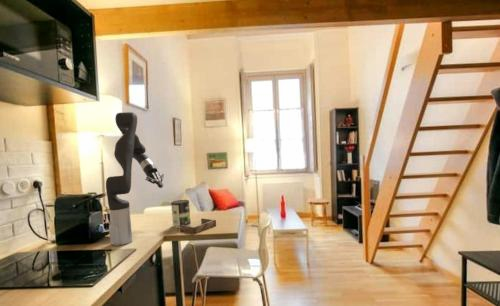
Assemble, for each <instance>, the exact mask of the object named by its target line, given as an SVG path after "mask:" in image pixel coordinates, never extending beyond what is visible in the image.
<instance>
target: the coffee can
mask: <svg viewBox="0 0 500 306" xmlns="http://www.w3.org/2000/svg"><path fill="white" fill-rule="evenodd" d="M170 205H171V206H170V207H171V215H172V227H173V228H175V229H178V228H179V229H181V225H185V226H191V225H192V223H191V213H190V212H191V210H190V200H189V199H179V200H174V201H171V202H170Z"/></svg>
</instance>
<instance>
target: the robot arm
mask: <svg viewBox="0 0 500 306" xmlns="http://www.w3.org/2000/svg"><path fill="white" fill-rule="evenodd" d="M115 123H116V126H117V128H118V130H119V131H120V133H121V134H122V136H121V137H120V138H119V139H118V140H117V141H116V142H115V145H114V153H113V154H114V155H113V156H114V158H115V160H116V162H117V163H118V164H119V165H120V168H121V169H122V171H123V174H122V175H115V176H109V177H107V178H106V180H105V191H106V196H107V197H106V198H107V205H108V211H109V222H110V224H109V225H108V230H109V231H108V232H109V241H110V242H109V243H110V245H112V246H115V247H118V246H123V245H127V244H130V243H132V242H133V232H132V220H131V219H132V218H131V210H130V209H131V208H130V202H129V201H128V200H125V199H122V198H120V197H118V195H119V196H121V195H127V194H129V193H130V191H131V189H132V169H133V168H132V165H133V159H135V160H136V162H137V163H138V164H139V166H140V168H141V169H142V171H143V173H144V174H145V175H146V177H145V181H147V182H149V183H150V184H153V185H156V186H157V187H158V188H159V189H162V188H163V187H164V184H163V180H164V176H165V174H164V173H160V172H159V171H158V168H157V167H156V165H155V164H154V163H153V161H152V160H151V159H150V157H149V156H148V155H147V154H146V151H147V150H146V147H145V146H144V144H142V143H141V140H140V138H139V135H137V133H136V132H137V126H138V115H137V114H136V113H135V112H130V111H129V112H127V111H125V112H117V113H116V115H115Z"/></svg>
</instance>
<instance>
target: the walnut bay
mask: <svg viewBox="0 0 500 306" xmlns="http://www.w3.org/2000/svg"><path fill="white" fill-rule="evenodd" d="M216 221H217V220H216V219H212V218H203V217H202V218H201V219H200V222H201V224H199V225H196V226H191V225H189V226H185V225H181V228H180V231H181V232H185V233H190V234H196V233H200V232H202V231H204V229H205V230H207V228H208V229H210V228H213V227H215V226H217V222H216ZM201 230H202V231H201ZM199 231H200V232H199Z"/></svg>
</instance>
